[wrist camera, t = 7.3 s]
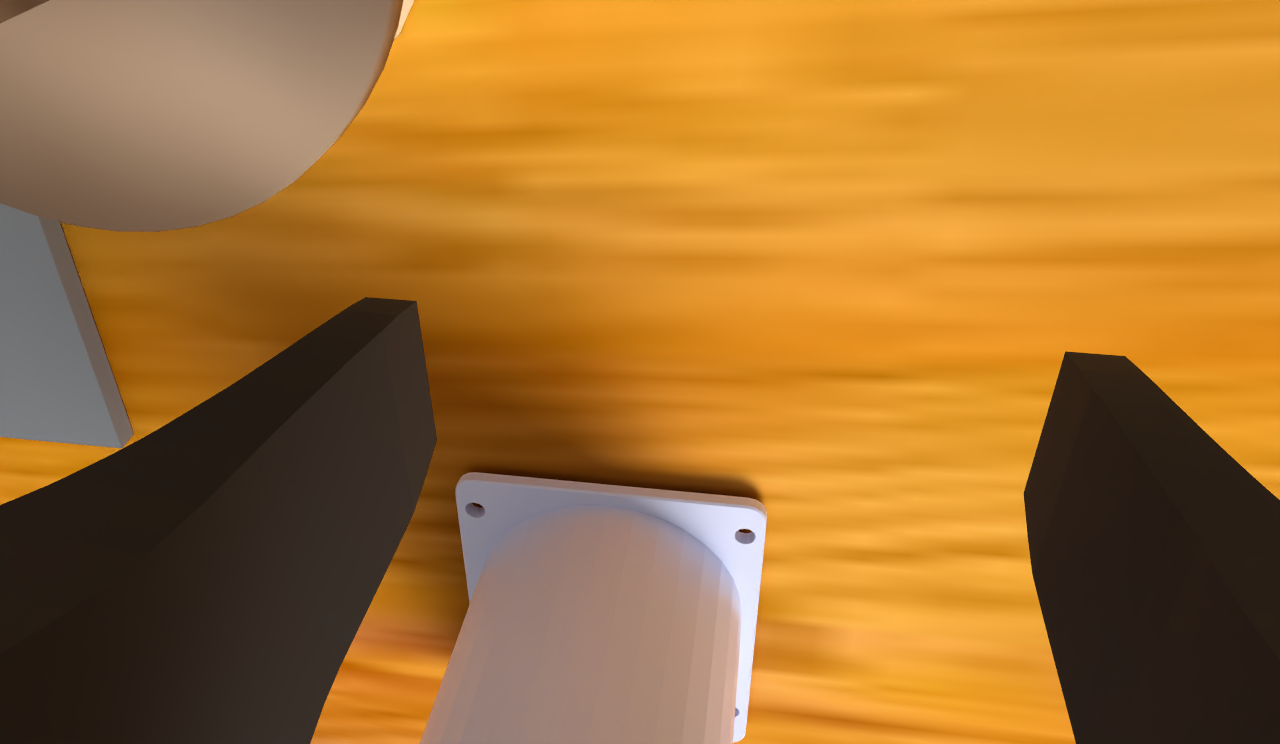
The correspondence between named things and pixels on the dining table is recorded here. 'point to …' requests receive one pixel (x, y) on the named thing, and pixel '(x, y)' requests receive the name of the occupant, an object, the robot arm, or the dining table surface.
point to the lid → (176, 102)
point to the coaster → (51, 343)
